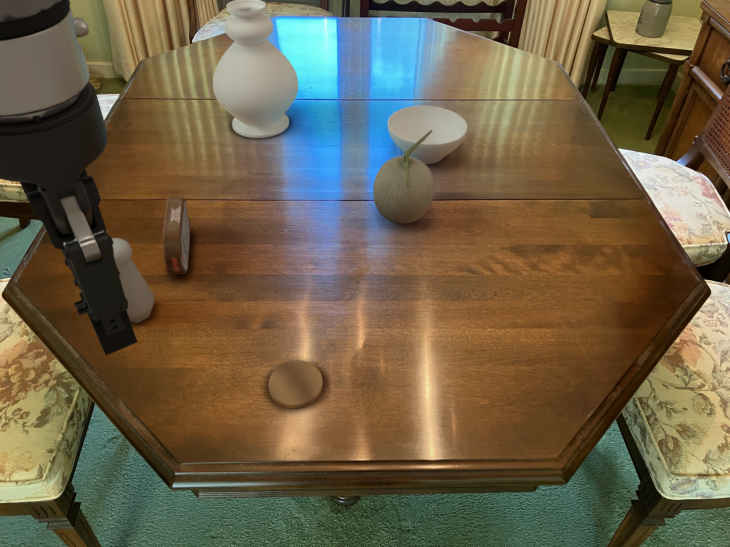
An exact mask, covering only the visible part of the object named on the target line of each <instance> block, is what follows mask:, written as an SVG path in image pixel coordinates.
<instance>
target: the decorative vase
mask: <svg viewBox="0 0 730 547" xmlns="http://www.w3.org/2000/svg"><path fill="white" fill-rule="evenodd" d="M225 7H226V11H227V13H229V14H230V15H229V16H228V18H226V19H225V22H224V25H223V28H224V32H225V34H226V36H227V37H229V38H230V40H232V41H233V42H232V43H231V45H230V46H228V48H227V50H226V51H225V52H224V53H223V54H222V56H221V58H220V59H219V61H218V63H217V65H216V67H215V69H214V72H213V76H212V90H213V94H214V97H215V99H216V101H217V102H218V104H220V105H221V107H222V108H223V109H225V111H227V113H229V114H230V115H231V116H232V117H233V119H232V120H231V127H232V129H233V131H234V132H235V133H236V134H238V135H240V136H241V137H246V138H252V139H266V138H270V137H274V136H277V135H280V134H282V133H284V132H285V131H286V130H287V129H288V127H289V126H290V118H289V116H288V115H287V114H286V113H287V111H288V110H289V109H290V108H291V106H292V105H293V103H294V101H295V100H296V98H297V95H298V93H299V79H298V75H297V72H296V69H295V68H294V66H293V64H292V63H291V62H290V60H289V59H288V58H287V56H286V55H285V54H284V53H283V52H282V51H281V50H280V49H279V48H278V47H277V46H275V45H274V44H272V43H271V41H269V40H268V38H270V36H271V35H272V33H273V30H274V23H273V21H272V19H271V18H270V17H269V16H268V15H267V14H265V13H264V12H266V10H267V4H266V2H265V1H263V0H232V1H229V2H228V3H227V4H226V5H225Z"/></svg>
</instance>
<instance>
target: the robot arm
mask: <svg viewBox="0 0 730 547" xmlns="http://www.w3.org/2000/svg"><path fill="white" fill-rule="evenodd" d="M89 33H90V30H89V24H88V22H86V20H85V19H84V18H83V17H74V15H73V11H72V8H71V0H0V180H3V181H7V182H15V183H20V186H21V188H22V190H23V193H24V194H25V196H26V199H27V201H28V204H29V205H30V208H31V210H32V212H33V214H34V216H35V218H36V220H37V221H39V222H41V224H42V225H43V226H44V229H45V231H46V233H47V235H48V238H49V240H50V242H51V245H52V246H53V248H55V249H57V250H61V253H62V255H63V257H64V259H63V263H64V265H65V267H67V268H69V270H70V272H71V274H72V276H73V279H72V282H73V284H74V286H75V287H77V288H78V289H79V290H80V292H79V293H78V295H79V298H80V300H78V301H75V302H73V304H74V307H75V309H76V311H77V314H78V316H82V315H84V314H86V313H87V315H88V318H89V321H90V323H91V325H92V327H93V328H92V329H93V330H94V332H95V335H96V337H97V340H98V341H99V344H100V347H101V348H102V351H103V353H104V355H105V356H109V355H111V354H114V353H115V352H119V351H121V350H123V349H126V348H128V347H130V346H132V345H135V344H137V343H138V339H137V337H136V334H135V331H134V328H133V325H132V322H130V319H129V316H128V313H127V310H126V309H128V301H127V299H126V298H125V294H124V291H123V287H122V284H121V280H120V276H119V275H120V272H119V270H118V268H117V266H116V262H115V259H114V249H113V244H114V242H113V240H112V238H113V237H112V236H111V235H110V234H109V233H107V226H106V223H105V221H104V218H103V214H102V212H101V209H100V203H101V201H102V200H101V195H100V193H99V189H98V187H97V184H96V182H95V180H94V177H93V176H92V175H88V172H87V169H86V168H87V167H89V166H90V165H91V164H92V163H94V162H95V161H96V160H98V159H99V158H100V156H102V154H103V153H104V151H105V149H106V147H107V145H108V140H109V135H108V129H107V126H106V123H105V119H104V115H103V112H102V109H101V105H100V101H99V97H98V94H97V91H96V88H95V87H94V85H93V83H92V82H90V81H89V80H90V78H91V76H90V70H89V65H88V62H87V58H86V56H85V52H84V48H83V47H82V45H81V43H80V42H79V39H78V38H84V37H85V36H88V35H89Z"/></svg>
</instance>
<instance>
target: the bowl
mask: <svg viewBox="0 0 730 547" xmlns="http://www.w3.org/2000/svg"><path fill="white" fill-rule="evenodd" d="M468 127H469V125H468V123H467V121H466V120H465V119H464V118H463V116H462V115H459V114H458V113H457V112H455V111H452V110H450V109H447V108H445V107H439V106H435V105H434V106H433V105H413V106H408V107H404V108H401V109H398V110H396V111H394V112H393V113H392V114H391V115H390V116H389V117H388V120H387V129H388V130H387V131H388V134H389V136H390V138H391V140H392V141H393V143H394V144H395V145H396V146H397V148H398V149H400V150H401V151H402V152H403V154H404V153H405V152H406V151H407V150H408V149H409V148H411V147H412V146H413V145H414V144H415V143H416V142H418V141H419V140H420V139H421V138H422V137H424V136H425V135H426V134H427V133H428V132H429V131H430V130H432V132H431V133H430V134H429V135H428V136H427V138H426V139H425V140H424V141H423V142H421V143H420V144H419V145H418V146H417V147H416V148H415V150H414V151H413V152H412V153H411V154H410V157H413V158H416V159H418V160H420V161H422V162H423V163H424V164H425V165H432V164H436V163H438V162H440V161H442V159H443V158H444V157H446V156H447V155H449V154H450V153H451V152H453V151H455V150H456V149H457V148H458V147H459V146H460V145H461V144H462V142H463V141H464V140H465V137H467V133H468Z"/></svg>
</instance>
